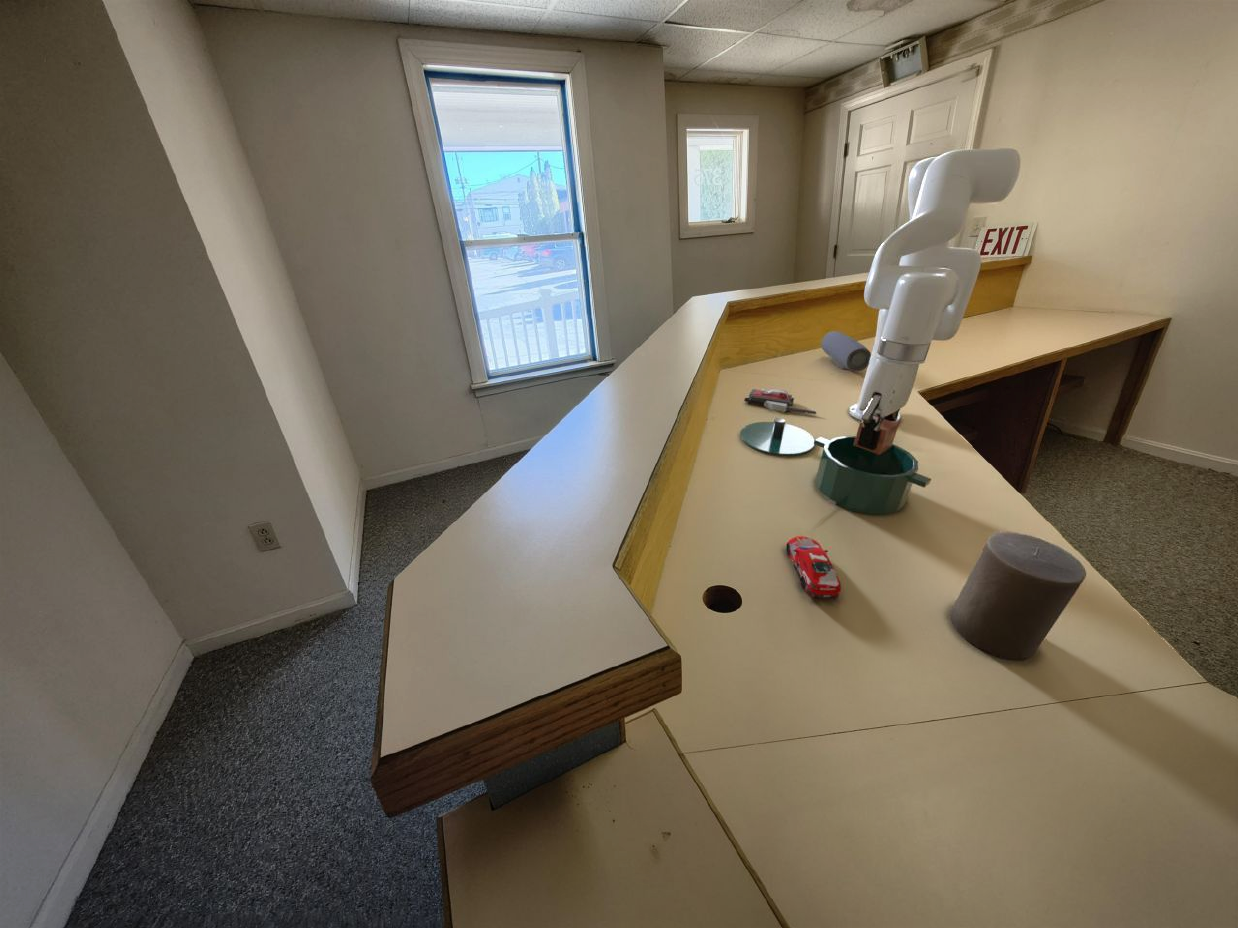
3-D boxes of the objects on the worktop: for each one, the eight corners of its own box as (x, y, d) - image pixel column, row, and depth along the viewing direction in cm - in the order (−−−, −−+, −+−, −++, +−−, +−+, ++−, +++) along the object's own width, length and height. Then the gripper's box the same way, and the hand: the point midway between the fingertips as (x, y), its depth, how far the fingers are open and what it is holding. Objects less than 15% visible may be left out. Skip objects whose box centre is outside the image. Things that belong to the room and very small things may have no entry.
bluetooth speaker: (868, 375, 155) (877, 346, 150) (841, 375, 155) (848, 346, 150) (841, 355, 174) (847, 329, 169) (816, 355, 174) (822, 329, 169)
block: (865, 438, 91) (872, 415, 89) (891, 447, 88) (899, 423, 85) (853, 445, 88) (860, 422, 86) (879, 454, 85) (886, 431, 83)
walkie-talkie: (741, 406, 132) (814, 419, 124) (743, 392, 129) (818, 404, 122) (748, 396, 138) (817, 407, 131) (750, 382, 136) (821, 393, 129)
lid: (767, 420, 124) (771, 400, 121) (828, 443, 112) (833, 422, 109) (725, 438, 114) (727, 417, 111) (786, 466, 102) (790, 443, 99)
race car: (782, 544, 79) (786, 526, 77) (813, 545, 79) (818, 527, 77) (805, 601, 68) (810, 582, 66) (842, 603, 67) (849, 583, 65)
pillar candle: (1006, 671, 57) (1064, 585, 50) (933, 616, 65) (974, 534, 58) (1051, 645, 61) (1112, 561, 53) (977, 595, 69) (1020, 515, 61)
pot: (829, 457, 105) (838, 424, 101) (932, 500, 90) (948, 463, 86) (788, 481, 96) (795, 446, 92) (895, 533, 81) (910, 493, 77)
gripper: (901, 337, 86) (874, 424, 95) (856, 354, 77) (831, 448, 86) (945, 346, 81) (912, 437, 90) (903, 364, 72) (871, 464, 81)
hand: (873, 442), depth 88 cm, fingers closed on block, 5 cm apart
